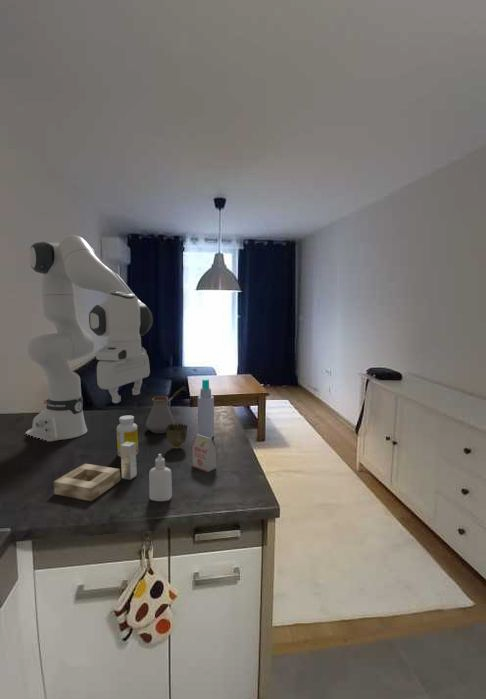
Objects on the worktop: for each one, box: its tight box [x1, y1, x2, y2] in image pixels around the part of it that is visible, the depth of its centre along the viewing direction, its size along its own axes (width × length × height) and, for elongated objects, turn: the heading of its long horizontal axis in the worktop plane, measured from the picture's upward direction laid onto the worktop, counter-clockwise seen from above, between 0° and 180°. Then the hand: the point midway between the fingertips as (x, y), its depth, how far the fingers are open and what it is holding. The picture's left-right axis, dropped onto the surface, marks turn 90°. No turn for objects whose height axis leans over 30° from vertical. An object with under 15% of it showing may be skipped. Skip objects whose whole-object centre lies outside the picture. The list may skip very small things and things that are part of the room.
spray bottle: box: [197, 378, 215, 439], centre depth 145 cm, size 6×6×22 cm
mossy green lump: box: [165, 422, 188, 451], centre depth 134 cm, size 8×7×8 cm
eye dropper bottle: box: [148, 453, 173, 502], centre depth 100 cm, size 4×6×12 cm
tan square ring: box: [53, 463, 121, 502], centre depth 106 cm, size 12×12×4 cm
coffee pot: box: [145, 385, 188, 434], centre depth 157 cm, size 21×12×15 cm, turn 150°
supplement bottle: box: [116, 415, 139, 458], centre depth 128 cm, size 7×7×13 cm
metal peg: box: [120, 442, 138, 480], centre depth 112 cm, size 3×3×10 cm
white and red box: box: [191, 433, 217, 473], centre depth 119 cm, size 4×7×10 cm, turn 52°
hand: (126, 398), depth 110 cm, fingers open, 8 cm apart
